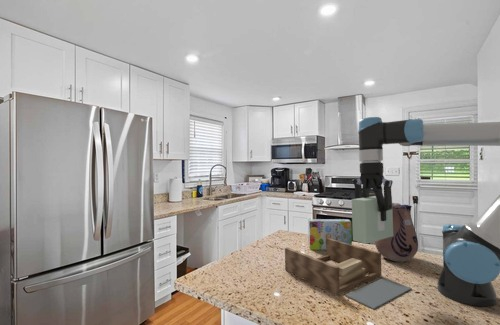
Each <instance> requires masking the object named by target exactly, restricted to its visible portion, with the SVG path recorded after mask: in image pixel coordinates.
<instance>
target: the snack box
mask: <svg viewBox="0 0 500 325" xmlns="http://www.w3.org/2000/svg"><path fill="white" fill-rule="evenodd" d="M307 221H308V222H307V224H308V225H307V227H308V228H307V229H308V231H307V232H308V248H309V250H312V251H314V250H315V251H316V250H317V251H318V250H319V251H326V238H330V239H334V240H337V241H341V242H344V243H348V244H351V245H353V242H352V241H353V228H352V220H350V219H344V218H343V219H341V218H339V219H338V218H335V219H332V218H331V219H328V218H327V219H323V218H322V219H321V218H317V219H315V218H313V219H312V218H311V219H310V218H309V219H308V220H307Z"/></svg>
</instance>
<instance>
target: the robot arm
mask: <svg viewBox="0 0 500 325" xmlns="http://www.w3.org/2000/svg"><path fill="white" fill-rule="evenodd" d="M357 133H358V146H359V147H358V149H359V152H358V158H359V159H358V160H359V162H360V164H359V172H360V177H359V178H357V179H353V181H352V182H353V183H352V184H353V185H354V199H357V198H366V197H370V192H371V190H372V191H373V192H374V196H376V199H377V203H378V206H379V210H378V211H377V218H378V231H382V230H385V227H384V221H386V211H387V210H391V209H392V203H393V196H392V186H393V184H394V183H393V182H394V181H393V180H390V179H386V178H385V176H384V163H383V162H382V161H383V160H384V156H383V155H384V152H383V151H384V150H383V149H384V148H383V145H395V144H398V145H399V146H402V147H411V146H448V147H449V146H450V147H451V146H459V147H461V146H464V147H465V146H466V147H467V146H468V147H469V146H471V147H472V146H473V147H474V146H476V147H478V146H480V147H481V146H484V147H491V146H493V147H495V146H496V147H500V121H487V122H485V121H483V122H462V123H461V122H460V123H459V122H458V123H456V122H455V123H454V122H453V123H429V124H427V123H426V124H424V120H423V119H421V118H414V119H413V118H409V119H404V120H403V119H401V120H394V121H386V122H385V121H383V120H382V117H379V116H370V117H364V118H361V119H360V120H359V121H358V132H357ZM382 185H383V187H382ZM383 196H384V197H383ZM441 233H442V256H443V257H442V263H443V267H442V270H441V272H440V276H439V277H438V280H437V291H438V292H439V293H440V294H441V295H443V296H445V297H446V298H448V299H451V300H454V301H456V302H459V303H462V304H464V305H470V306H476V307H492V306H495V305H497V298H498V297H497V293H496V291H495V289H494V285H493V283H492V282H493V281H495V280H496V279H497V278H498V277H499V275H500V194H499V195H498V196H497V197H496V198H495V199H494V200H493V201H492V203H491V204H490V205H489V206H488V207H487V208H486V209H485V211H484V212H483V213H482V214H481V215H480V216H479V217H478V218H477V219H476V221H475V222H472V223H465V224H451V223H447V224H444V225H443V226H442V231H441Z"/></svg>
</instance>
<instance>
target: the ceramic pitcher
mask: <svg viewBox="0 0 500 325" xmlns="http://www.w3.org/2000/svg"><path fill="white" fill-rule="evenodd" d="M411 212H412V205H409V204H401V203H399V202H397V203H396V202H392V213H393V236H392V237H388V238H385V239H381V240H378V241H374V245H375V247H376V248H375V249H377V252H380V253H381V257H383V258H384V259H386V260H389V261H393V262H408V261H410V260H412V258H414V257H415V256H416V255H417V252H418V249H419V240H418V236H417V232H416V229H415V226H414V222H413V220H412V219H413V218H412V214H411Z"/></svg>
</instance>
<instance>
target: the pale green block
mask: <svg viewBox="0 0 500 325" xmlns="http://www.w3.org/2000/svg"><path fill="white" fill-rule="evenodd" d="M383 197H384V195H383ZM378 210H379V206H378V203H377V199H376V195H372V196H369V197H366V198H357V199H355V198H351V214H352V215H351V229H352V241H354V242H358V243H362V244H366V245H367V244H371V243H373V242H374V241H378V240H381V239H385V238H388V237H392V236H393V213H392V209H391V210H387V211H386V221H384V227H385V230H382V231H378V218H377V211H378ZM374 243H375V242H374Z"/></svg>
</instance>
